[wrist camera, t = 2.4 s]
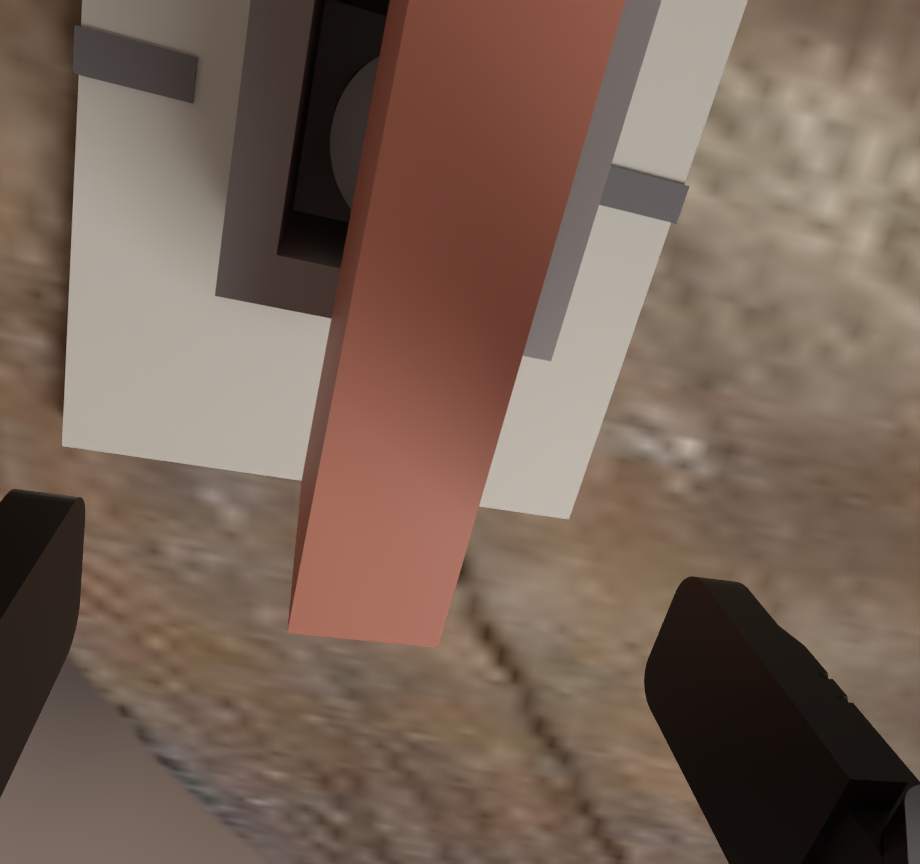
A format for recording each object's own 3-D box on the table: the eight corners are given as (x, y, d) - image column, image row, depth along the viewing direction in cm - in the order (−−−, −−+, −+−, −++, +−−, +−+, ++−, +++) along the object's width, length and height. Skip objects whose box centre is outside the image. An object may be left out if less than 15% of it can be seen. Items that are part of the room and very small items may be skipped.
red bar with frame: (314, -270, 15) (275, -833, 6) (622, -156, 17) (982, -457, 7) (229, 371, 21) (136, 617, 11) (468, 412, 22) (564, 660, 13)
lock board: (119, -524, 14) (-21, -910, 9) (809, -234, 18) (1024, -377, 12) (71, 427, 22) (-20, 545, 16) (561, 500, 25) (624, 619, 20)
